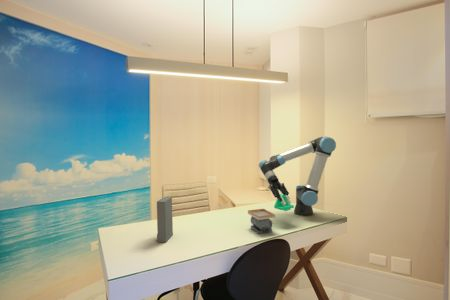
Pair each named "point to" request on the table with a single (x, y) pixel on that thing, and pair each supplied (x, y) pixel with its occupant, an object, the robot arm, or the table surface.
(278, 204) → the green piece
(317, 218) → the table surface
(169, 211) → the grey upright slab
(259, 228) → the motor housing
